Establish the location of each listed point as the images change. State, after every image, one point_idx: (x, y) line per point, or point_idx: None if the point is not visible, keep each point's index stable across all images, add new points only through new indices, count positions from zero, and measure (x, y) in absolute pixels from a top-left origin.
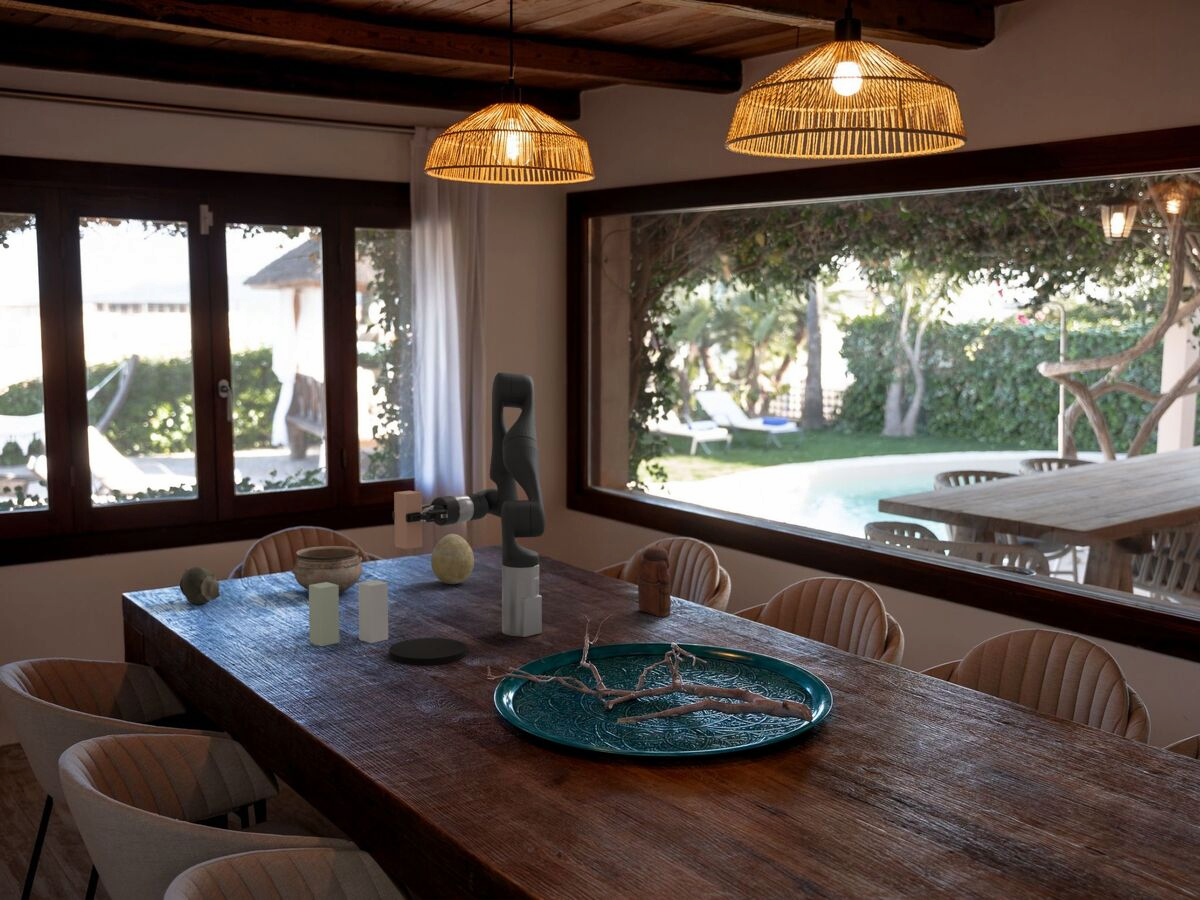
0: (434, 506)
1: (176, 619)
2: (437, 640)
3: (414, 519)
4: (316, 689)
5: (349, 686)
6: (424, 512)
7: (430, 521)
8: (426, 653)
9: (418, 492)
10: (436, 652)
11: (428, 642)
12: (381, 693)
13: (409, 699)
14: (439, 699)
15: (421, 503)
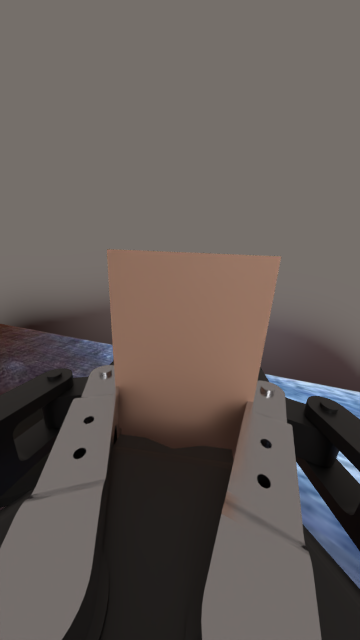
0: (5, 538)
1: (350, 397)
2: (27, 476)
3: None
4: (104, 358)
5: (85, 366)
6: (88, 383)
7: (43, 426)
8: (34, 423)
9: (135, 251)
10: (20, 431)
11: (42, 459)
12: (56, 367)
13: (31, 367)
14: (5, 374)
15: (114, 333)
